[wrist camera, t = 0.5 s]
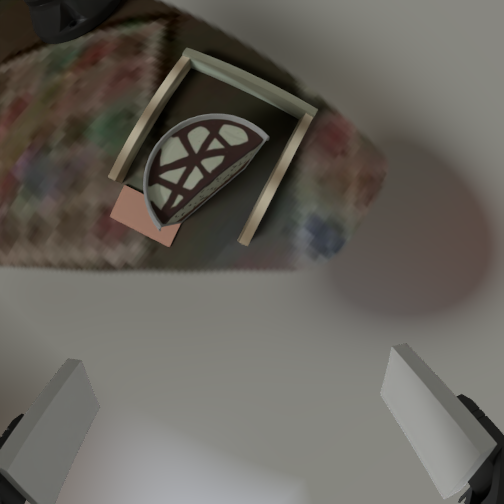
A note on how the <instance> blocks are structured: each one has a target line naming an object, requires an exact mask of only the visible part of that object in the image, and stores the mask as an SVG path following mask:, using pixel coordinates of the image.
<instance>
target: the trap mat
mask: <svg viewBox="0 0 504 504" xmlns="http://www.w3.org/2000/svg"><path fill="white" fill-rule="evenodd" d="M110 217H111V218H113V219H115V220H117V221H119V222H121V223H123V224H125V225H127V226H129V227H131V228H133V229H135V230H136V231H138V232H140V233H142V234H144V235H146V236H148V237H150V238H152V239H154V240H156V241H158V242H160V243H162V244H164V245H166V246H168V247H170V246H171V243H172V241H173V239H174V237H175V235H176V233H177V231H178V229H179V227H180V225H181V223H180V224H175V225H170V226H165V227H162V228H161V231H160V232H159V230H158V229H157V227H156V226H155V225H154V223H153V221H152V219H151V217H150V215H149V213H148V210H147V207H146V204H145V199H144V194H142V193H140V192H138V191H136V190H134V189H132V188H130V187H128V186H126V185H124V187H123V189H122V191H121V193H120V195H119V197H118V200H117V202H116V204H115V206H114V208H113V211H112V213H111V215H110Z"/></svg>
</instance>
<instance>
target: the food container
mask: <svg viewBox="0 0 504 504" xmlns="http://www.w3.org/2000/svg"><path fill="white" fill-rule="evenodd" d="M266 140H267V141H268V140H269V136H268V135H267V134H266V133H265V132H264V131H263V130H262V129H260V128H259V127H257V126H256V125H254V124H253V123H251V122H249V121H247V120H245V119H243V118H239V117H236V116H233V115H227V114H206V115H200V116H196V117H193V118H190V119H187V120H185V121H183V122H181V123H179V124H178V125H176V126H175V127H173V128H172V129H170V130H169V131H168V132H167V133H166V134H165V135H164V136H163V137H162V138H161V139H160V140H159V142H158V143H157V144H156V145H155V147H154V149H153V150H152V152H151V154H150V156H149V159H148V161H147V164H146V167H145V172H144V178H143V191H144V199H145V204H146V207H147V210H148V213H149V215H150V217H151V219H152V221H153V223H154V225H155V226H156V227H157V229H158V230H159V232H160V231H161V228H162V227H165V226H170V225H175V224H180V223H182V222H183V221H184V220H186V219H187V218H188V217H189V216H190V215H191V214H192V213H194V212H195V211H196V210H197V209H198V208H199V207H200V206H202V205H203V204H204V203H205V202H206V201H207V200H208V199H210V198H211V197H212V196H213V195H214V194H216V193H217V192H218V191H219V190H220V189H221V188H223V187H224V186H225V185H226V184H227V183H229V182H230V181H231V180H232V179H233V178H235V177H236V176H237V175H238V174H240V173H241V172H242V171H243V170H244V169H245V168H246V167H247V166H248V164H249V163H250V161H251V160H252V159H253V157H254V156H255V155H256V153H257V152H258V151H259V149H260V148H261V147H262V145H263V144H264V143H265V141H266Z"/></svg>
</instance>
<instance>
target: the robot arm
mask: <svg viewBox="0 0 504 504" xmlns="http://www.w3.org/2000/svg"><path fill="white" fill-rule="evenodd" d="M24 1H25V2H26V4H27V5H28V6H29V10H30V15H31V20H32V24H33V28H34V31H35V33H36V34H37V35H38V36H39V38H40V39H41V40H42V41H44V42H46V43H50V44H57V43H63V42H66V41H69V40H72V39H75V38H77V37H79V36H81V35H83V34H85V33H87V32H88V31H90V30H91V29H93V28H94V27H96V26H97V25H99V24H100V23H101V22H102V21H104V20H105V19H106V18H107V17H108V16H109V15H110V14H111V13H112V12H113V11H114V10H115V8H116V7H117V6H118V4H119V3H120V1H121V0H24ZM380 395H381V397H382V398H383V400H384V401H385V403H386V404H387V406H388V407H389V409H390V411H391V412H392V414H393V416H394V417H395V419H396V420H397V422H398V423H399V425H400V427H401V428H402V430H403V432H404V433H405V435H406V437H407V438H408V440H409V442H410V443H411V445H412V447H413V448H414V450H415V452H416V453H417V455H418V456H419V458H420V460H421V462H422V463H423V465H424V466H425V468H426V470H427V472H428V474H429V475H430V477H431V479H432V480H433V482H434V484H435V486H436V487H437V489H438V491H439V492H440V494H441V496H442V497H443V500H444V499H446V498H448V497H450V496H452V495H454V494H455V493H457V492H459V491H460V490H461V489H462V488H463V487H464V486H465V485H466V484H467V482H468V483H469V485H470V488H469V489H468V490H467V491H466V492H465V493H464V494H463V495H462V496H461V497H460V499H459V501H458V502H459V503H460V502H461V501H462V500H463V499H464V498H465V497H466V500H465V502H464V503H465V504H504V435H503V434H502V433H501V431H500V430H499V429H498V428H497V427H496V426H495V425H494V423H493V422H492V421H491V420H490V419H489V418H488V417H487V416H485V414H484V412H483V411H482V410H480V409H479V407H478V406H477V405H476V404H475V403H474V402H473V400H471V399H470V398H468V397H466V396H464V395H462V394H461V395H459V396H455V395H454V393H453V392H452V391H451V390H450V389H449V388H448V387H447V386H446V385H445V384H444V382H443V381H442V380H441V379H440V378H439V377H438V376H437V375H436V374H435V373H434V372H433V371H432V370H431V368H430V367H429V366H428V365H427V364H426V363H425V362H424V361H423V360H422V359H421V358H420V357H419V356H418V355H417V354H416V353H415V352H414V351H413V350H412V348H411V347H409V345H408V344H407V343H405V344H401V345H396V346H392V348H391V352H390V357H389V361H388V366H387V370H386V374H385V378H384V382H383V386H382V389H381V393H380ZM99 408H100V405H99V403H98V401H97V399H96V396H95V394H94V391H93V389H92V386H91V384H90V381H89V379H88V376H87V374H86V371H85V368H84V366H83V363H82V360H75V359H67V360H66V362H65V363H64V364H63V365H62V367H61V368H60V369H59V370H58V372H57V373H56V374H55V375H54V377H53V378H52V379H51V380H50V382H49V383H48V384H47V386H46V387H45V388H44V389H43V391H42V392H41V393H40V395H39V396H38V397H37V399H36V400H35V401H34V403H33V404H32V405H31V407H30V408H29V409H28V411H27V412H26V413H25V415H24V414H21V415H19V416H18V417H17V418H15V419H14V420H13V421H12V422H11V423H10V425H9V426H8V428H7V430H5V432H4V433H3V434H2V437H0V504H24V503H25V501H26V500H27V501H28V502H30V503H31V504H55V502H56V500H57V498H58V495H59V493H60V490H61V488H62V486H63V483H64V481H65V479H66V477H67V474H68V472H69V470H70V468H71V465H72V463H73V461H74V459H75V457H76V455H77V453H78V450H79V448H80V446H81V444H82V442H83V440H84V438H85V436H86V434H87V432H88V430H89V428H90V426H91V424H92V422H93V420H94V418H95V416H96V414H97V412H98V410H99Z"/></svg>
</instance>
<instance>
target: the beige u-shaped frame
mask: <svg viewBox="0 0 504 504" xmlns="http://www.w3.org/2000/svg"><path fill="white" fill-rule="evenodd" d="M182 55H183V56H182V57H181V58H180V60H179V61H178V62H177V64H176V65H175V66H174V68H173V69H172V70H171V72H170V73H169V75H168V76H167V78H166V79H165V80H164V82H163V83H162V85H161V86H160V88H159V89H158V91H157V92H156V94H155V95H154V97H153V98H152V100H151V101H150V103H149V104H148V106H147V108H146V109H145V111H144V112H143V114H142V116H141V117H140V119H139V121H138V122H137V124H136V126H135V127H134V129H133V131H132V133H131V134H130V136H129V138H128V140H127V141H126V143H125V145H124V147H123V149H122V151H121V152H120V154H119V156H118V158H117V160H116V162H115V164H114V166H113V168H112V170H111V172H110V174H109V176H108V177H109V178H111V179H113V180H115V181H117V182H120V183H122V182H123V180H124V178H125V176H126V174H127V172H128V170H129V168H130V166H131V164H132V162H133V160H134V159H135V157H136V155H137V153H138V151H139V149H140V148H141V146H142V144H143V142H144V140H145V139H146V137H147V135H148V133H149V132H150V130H151V128H152V127H153V125H154V123H155V122H156V120H157V118H158V117H159V115H160V113H161V112H162V110H163V109H164V107H165V105H166V104H167V102H168V101H169V99H170V98H171V96H172V95H173V93H174V92H175V90H176V89H177V87H178V86H179V84H180V83H181V81H182V80H183V78H184V77H185V76H186V74H187V73H188V71H189V70H190V68H192V69H195V70H197V71H200V72H202V73H205V74H207V75H210V76H212V77H214V78H217V79H219V80H221V81H224V82H226V83H228V84H230V85H232V86H235V87H237V88H239V89H241V90H243V91H245V92H247V93H250V94H252V95H254V96H256V97H258V98H260V99H262V100H264V101H266V102H268V103H270V104H271V105H273V106H275V107H277V108H279V109H281V110H283V111H285V112H286V113H288V114H290V115H292V116H294V117H295V118H297V119H299V121H298V123H297V125H296V127H295V129H294V131H293V133H292V135H291V137H290V139H289V140H288V142H287V144H286V146H285V148H284V150H283V152H282V154H281V156H280V158H279V160H278V161H277V163H276V165H275V167H274V169H273V171H272V173H271V175H270V177H269V179H268V181H267V183H266V185H265V187H264V188H263V190H262V192H261V194H260V196H259V198H258V200H257V202H256V204H255V206H254V208H253V210H252V212H251V214H250V216H249V218H248V220H247V222H246V224H245V226H244V228H243V230H242V232H241V234H240V236H239V238H238V240H237V241H238V242H240V243H242V244H244V245H246V246H248V245H249V243H250V241H251V239H252V237H253V235H254V233H255V231H256V229H257V227H258V225H259V223H260V221H261V219H262V217H263V215H264V213H265V211H266V209H267V207H268V205H269V203H270V201H271V199H272V197H273V195H274V193H275V191H276V189H277V187H278V185H279V183H280V181H281V179H282V178H283V176H284V174H285V172H286V170H287V168H288V166H289V164H290V162H291V160H292V158H293V156H294V154H295V152H296V150H297V148H298V146H299V144H300V142H301V140H302V138H303V136H304V134H305V133H306V131H307V129H308V127H309V125H310V123H311V121H312V119H313V117H314V116H315V115H316V113H317V111H318V109H316V108H315V107H313V106H311V105H309V104H308V103H306V102H304V101H303V100H301V99H299V98H297V97H295V96H294V95H292V94H290V93H288V92H286V91H284V90H282V89H280V88H279V87H277V86H275V85H273V84H271V83H269V82H267V81H265V80H263V79H261V78H259V77H256V76H254V75H252V74H250V73H248V72H246V71H244V70H241V69H239V68H237V67H235V66H232V65H230V64H228V63H225V62H223V61H221V60H218V59H216V58H213V57H211V56H208V55H206V54H203V53H200V52H198V51H195V50H192V49H190V48H186V49H185V51H184V52H183V53H182Z"/></svg>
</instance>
